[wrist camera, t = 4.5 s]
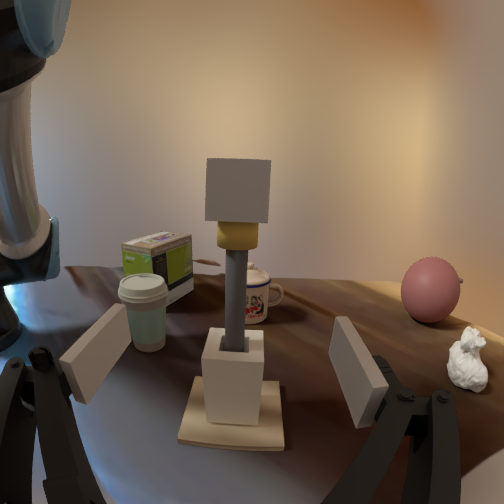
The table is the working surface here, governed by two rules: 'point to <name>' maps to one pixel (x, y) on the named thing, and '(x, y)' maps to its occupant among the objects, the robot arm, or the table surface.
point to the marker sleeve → (233, 378)
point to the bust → (468, 362)
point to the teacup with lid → (258, 295)
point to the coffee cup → (145, 309)
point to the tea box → (162, 261)
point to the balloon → (430, 289)
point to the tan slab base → (234, 435)
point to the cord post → (237, 229)
